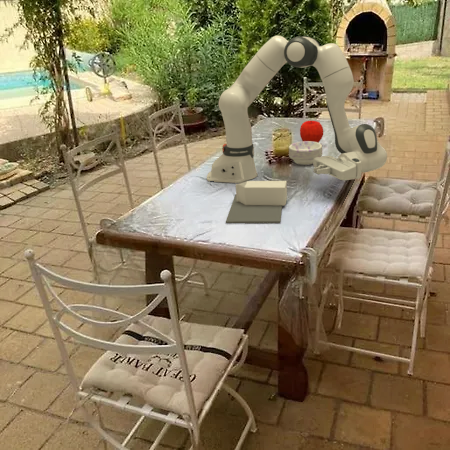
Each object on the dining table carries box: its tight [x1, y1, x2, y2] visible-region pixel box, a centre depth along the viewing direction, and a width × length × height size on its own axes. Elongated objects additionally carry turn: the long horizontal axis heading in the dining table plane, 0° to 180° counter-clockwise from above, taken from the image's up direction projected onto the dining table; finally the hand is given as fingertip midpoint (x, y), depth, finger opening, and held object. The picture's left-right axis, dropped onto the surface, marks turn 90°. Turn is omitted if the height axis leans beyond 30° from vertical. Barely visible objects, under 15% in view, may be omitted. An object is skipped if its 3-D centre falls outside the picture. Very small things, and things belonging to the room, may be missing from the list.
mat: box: [225, 194, 283, 224], centre depth 178 cm, size 19×26×1 cm
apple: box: [299, 120, 324, 143], centre depth 243 cm, size 12×12×13 cm
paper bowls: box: [288, 141, 323, 166], centre depth 222 cm, size 15×15×8 cm
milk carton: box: [235, 180, 288, 206], centre depth 180 cm, size 7×7×19 cm
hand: (315, 171), depth 177 cm, fingers closed
